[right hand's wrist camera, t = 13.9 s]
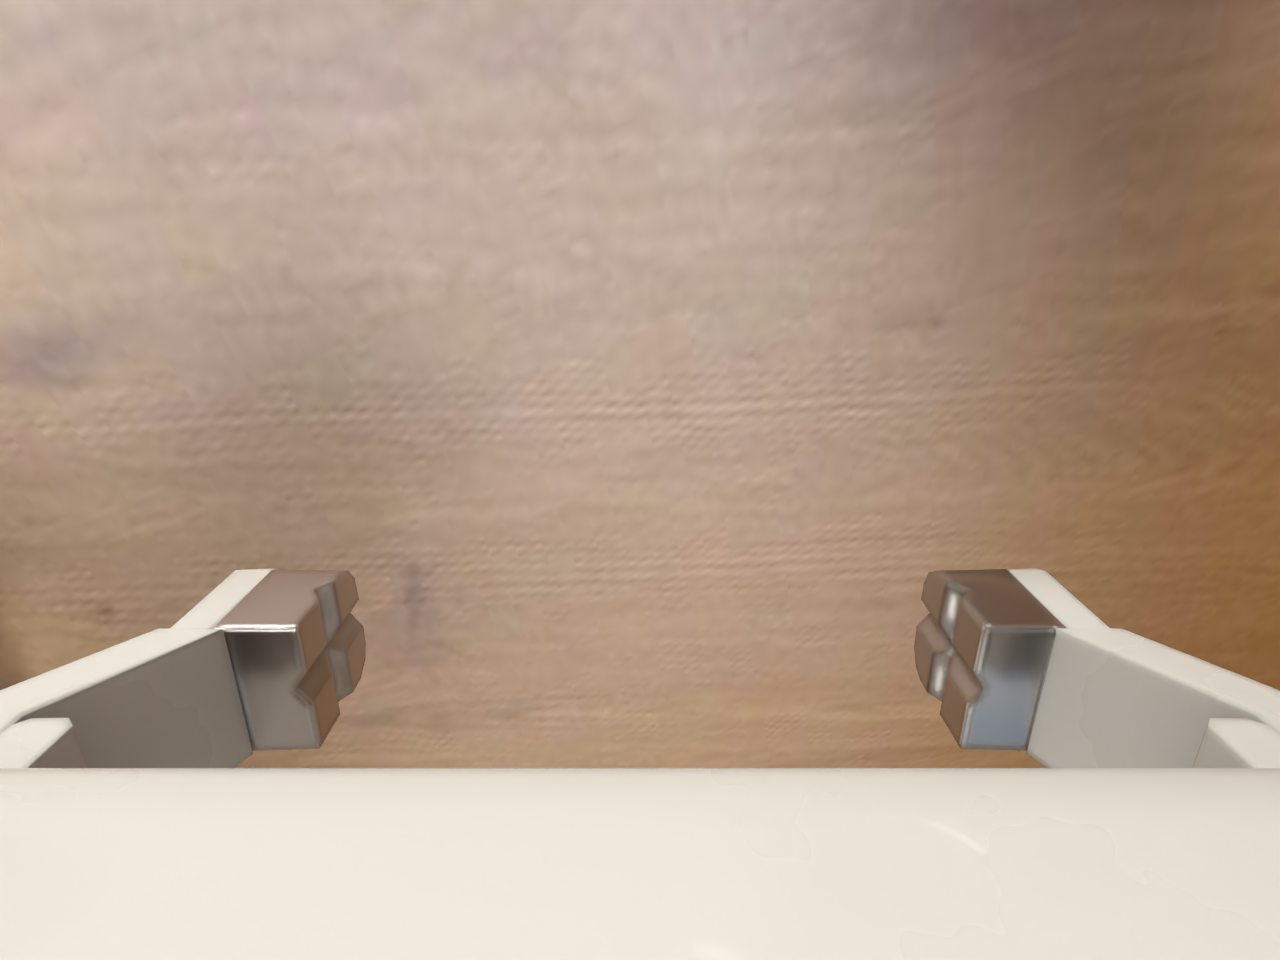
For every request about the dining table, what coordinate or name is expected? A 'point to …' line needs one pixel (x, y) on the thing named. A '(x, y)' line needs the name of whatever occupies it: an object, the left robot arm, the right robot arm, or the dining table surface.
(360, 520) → the dining table surface
